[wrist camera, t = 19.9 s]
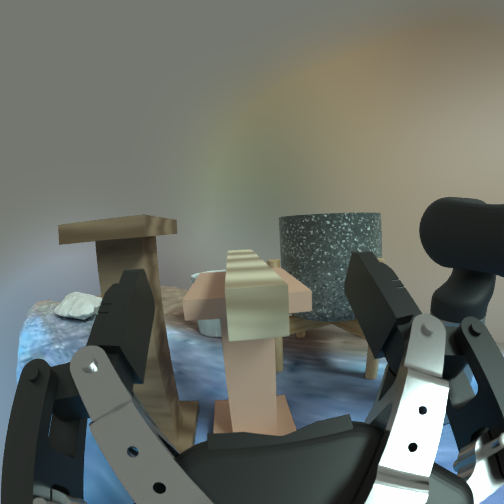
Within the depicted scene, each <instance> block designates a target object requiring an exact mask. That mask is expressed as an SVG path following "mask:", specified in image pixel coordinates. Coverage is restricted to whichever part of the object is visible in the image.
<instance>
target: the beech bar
mask: <svg viewBox="0 0 504 504" xmlns="http://www.w3.org/2000/svg"><path fill="white" fill-rule="evenodd" d="M225 300H226V312H227V324H228V335H229V341H241V340H253V339H265V338H275V337H285V336H290V335H289V295H288V284H287V283H286V282H285V281H284V280H283V279H282V278H281V277H280V276H279V275H278V274H277V273H276V272H275V271H273V270H272V269H271V268H270V267H269V266H268V265H267V264H266V263H265V262H264V261H263V260H262V259H261V258H260V257H259V256H258V255H257V254H256V253H255V252H253V251H252V250H250V249H249V250H233V251H228V254H227V267H226V278H225Z"/></svg>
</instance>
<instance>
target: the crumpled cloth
mask: <svg viewBox="0 0 504 504" xmlns="http://www.w3.org/2000/svg"><path fill="white" fill-rule="evenodd" d="M101 302H102V298H100V297H96V296H93V295H90V294H83V293H80V292H73V293H70V294H68V295H67V296H66V297H65V299H64V300H63V301H62V302H61V303H60V304H59V305H58V306H57V307H56V308H55V310H54V312H55V313H56V314H57V315H60V316H63V317H71V318H74V319H76V318H78V319H83V320H85V319H87V318H89V317H91V316H93V315H94V307H97V308H99V307H100V305H101Z"/></svg>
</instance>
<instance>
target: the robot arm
mask: <svg viewBox="0 0 504 504" xmlns="http://www.w3.org/2000/svg"><path fill="white" fill-rule="evenodd" d="M419 232H420V239H421V243H422V245H423V248H424V249H425V251H426V253H427V254H428V255H429V257H430V258H431V259H432V260H433V261H435V262H436V263H437V264H439V265H441V266H443V267H448V268H453V271H452V274H451V276H450V277H449V279H448V280H447V281H446V282H445V283H444V284H443V285H442V286H441V287H440V288H438V289H437V290H436V291H435V292H434V294H433V296H432V301H431V310H430V315H429V314H422V313H421V311H420V310H419V308H418V306H417V305H416V303H415V302H414V300H413V299H412V297H411V296H410V294H409V293H408V291H407V290H406V288H404V285H403V284H402V283H401V281H400V280H399V278H398V277H397V275H396V274H395V273H394V271H393V270H392V269H391V268H390V267H388V266H387V265H386V264H384V263H383V262H379V261H378V259H377V258H376V256H375V255H374V254H373V252H372V251H362V252H353V253H352V255H351V257H350V262H349V266H348V270H347V274H346V278H345V283H344V290H345V295H346V297H347V299H348V301H349V304H350V306H351V308H352V310H353V312H354V314H355V316H356V318H357V321H358V323H359V325H360V327H361V329H362V331H363V334H364V336H365V338H366V340H367V342H368V345H369V347H370V349H371V352H372V354H373V356H374V358H375V359H379V358H383V357H385V358H386V360H387V362H388V364H387V366H386V369H385V372H384V375H383V379H382V382H381V385H380V388H379V391H378V394H377V397H376V400H375V402H374V405H373V407H372V409H371V411H370V412H369V414H368V416H367V418H366V420H365V422H364V423H363V422H355V421H351V418H350V414H348V415H344V416H340V417H335V418H331V419H326V420H322V421H317V422H315V423H312V424H310V425H308V426H306V427H303V428H301V429H299V430H296V431H294V432H292V433H289V434H287V435H283V436H275V435H266V434H257V433H249V432H232V433H208V441H205V442H201V443H199V444H196V445H194V446H192V447H190V448H188V449H186V450H185V451H183V452H182V453H179V451H178V450H177V449H176V448H175V447H174V445H173V444H172V443H171V442H170V441H169V439H168V438H167V437H166V436H165V435H164V434H163V432H162V431H161V430H160V429H159V427H158V426H157V425H156V423H155V422H154V421H153V419H152V418H151V416H150V415H149V414H148V412H147V411H146V409H145V408H144V406H143V405H142V403H141V402H140V400H139V399H138V397H137V396H136V394H135V393H134V392H133V385H134V384H144V377H145V370H146V363H147V356H148V350H149V343H150V337H151V332H152V326H153V320H154V315H155V301H154V297H153V294H152V291H151V288H150V285H149V282H148V279H147V275H146V272H145V270H144V269H143V268H142V269H126V270H124V271H123V273H122V276H121V278H120V281H119V283H114V284H112V285H111V287H110V288H109V289H108V290H107V291H106V292H105V294H104V297H103V299H102V302H101V306H100V307H99V310H98V314H97V315H96V318H95V321H94V324H93V327H92V330H91V333H90V336H89V339H88V342H87V345H86V347H83V348H81V349H80V350H78V351H77V352H76V353H75V354H74V356H73V357H72V359H71V362H69V363H66V364H62V365H57V366H53V367H50V366H49V364H48V363H47V362H46V361H45V360H43V359H34V360H32V361H30V362H29V363H27V364H26V365H25V367H24V368H23V370H22V373H21V376H20V379H19V382H18V386H17V390H16V393H15V397H14V401H13V406H12V410H11V415H10V419H9V424H8V431H7V436H6V442H5V449H4V457H3V467H2V483H1V504H87V503H86V502H85V501H84V500H83V474H84V451H85V438H86V427H87V418H91V420H92V422H91V423H90V424H89V426H90V430H91V432H92V434H93V436H94V438H95V440H96V442H97V444H98V445H99V447H100V449H101V451H102V453H103V454H104V456H105V458H106V459H107V461H108V463H109V464H110V466H111V468H112V469H113V471H114V472H115V474H116V476H117V477H118V479H119V480H120V482H121V483H122V485H123V486H124V488H125V489H126V490H127V492H128V493H129V495H130V496H131V497H132V499H133V500H134V501H135V503H134V504H478V503H480V502H481V501H482V500H484V499H485V498H487V497H488V496H489V495H491V494H492V493H493V492H495V491H496V490H497V489H498V488H500V487H501V486H502V485H503V484H504V357H503V355H502V354H501V352H500V350H499V348H498V346H497V345H496V343H495V341H494V339H493V338H492V336H491V334H490V333H489V331H488V329H487V328H486V326H485V325H484V324H485V317H486V312H487V306H488V303H489V301H490V299H491V297H492V294H493V291H494V287H495V280H496V275H499V276H501V277H504V204H501V205H500V204H497V205H496V204H495V205H494V204H493V205H492V204H486V203H485V202H483V201H481V200H478V199H470V198H457V197H445V198H441V199H438V200H436V201H434V202H433V203H432V204H431V205H430V206H429V207H428V208H427V209H426V211H425V212H424V214H423V216H422V218H421V222H420V228H419ZM473 375H474V377H475V379H476V381H477V384H478V392H477V394H476V396H475V394H474V392H473V390H472V387H471V385H470V384H471V380H472V377H473ZM51 416H52V419H51ZM50 422H51V426H50ZM448 423H450V425H451V428H452V431H453V434H454V437H455V440H456V443H457V447H458V450H459V455H458V459H457V460H456V461H455V462H454V464H453V469H454V471H456V472H458V474H457V475H456V474H454V473H452V472H450V471H449V470H447V469H445V468H443V467H442V466H440V465H438V464H437V463H435V462H433V461H434V458H435V454H436V451H437V447H438V443H439V439H440V434H441V430H442V425H444V424H448ZM49 429H50V432H49Z"/></svg>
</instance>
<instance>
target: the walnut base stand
mask: <svg viewBox="0 0 504 504" xmlns="http://www.w3.org/2000/svg"><path fill="white" fill-rule="evenodd" d="M58 231H59V244H60V245H61V244H70V243H80V242H91V241H95V242H96V253H97V264H98V273H99V281H100V288H101V296H102V299H103V297H104V294H105V292H106V291H107V290H108V289H109V288H110V287H111V285H112V284H114V283H119V281H120V278H121V276H122V273H123V271H124V270H126V269H142V268H143V269H144V270H145V272H146V275H147V279H148V282H149V285H150V288H151V291H152V294H153V297H154V301H155V315H154V320H153V326H152V332H151V337H150V343H149V350H148V356H147V363H146V370H145V377H144V384H134V385H133V392H134V393H135V394H136V396H137V397H138V399H139V400H140V402H141V403H142V405H143V406H144V408H145V409H146V411H147V412H148V414H149V415H150V416H151V418H152V419H153V421H154V422H155V423H156V425H157V426H158V427H159V429H160V430H161V431H162V432H163V434H164V435H165V436H166V437H167V438H168V439H169V441H170V442H171V443H172V444H173V445H174V447H175V448H176V449H177V450H178V451H179V453H182V452H183V451H185V450H186V449H188V448H190V447H192V446H194V442H195V435H196V428H197V421H198V414H199V403H198V401H179V397H178V393H177V388H176V383H175V378H174V373H173V368H172V363H171V357H170V352H169V346H168V340H167V333H166V327H165V320H164V313H163V305H162V297H161V289H160V280H159V271H158V260H157V250H156V249H157V247H156V236H157V235H167V234H177V221H176V220H173V219H168V218H162V217H155V216H149V215H137V216H127V217H118V218H109V219H100V220H93V221H84V222H77V223H70V224H63V225H58Z"/></svg>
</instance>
